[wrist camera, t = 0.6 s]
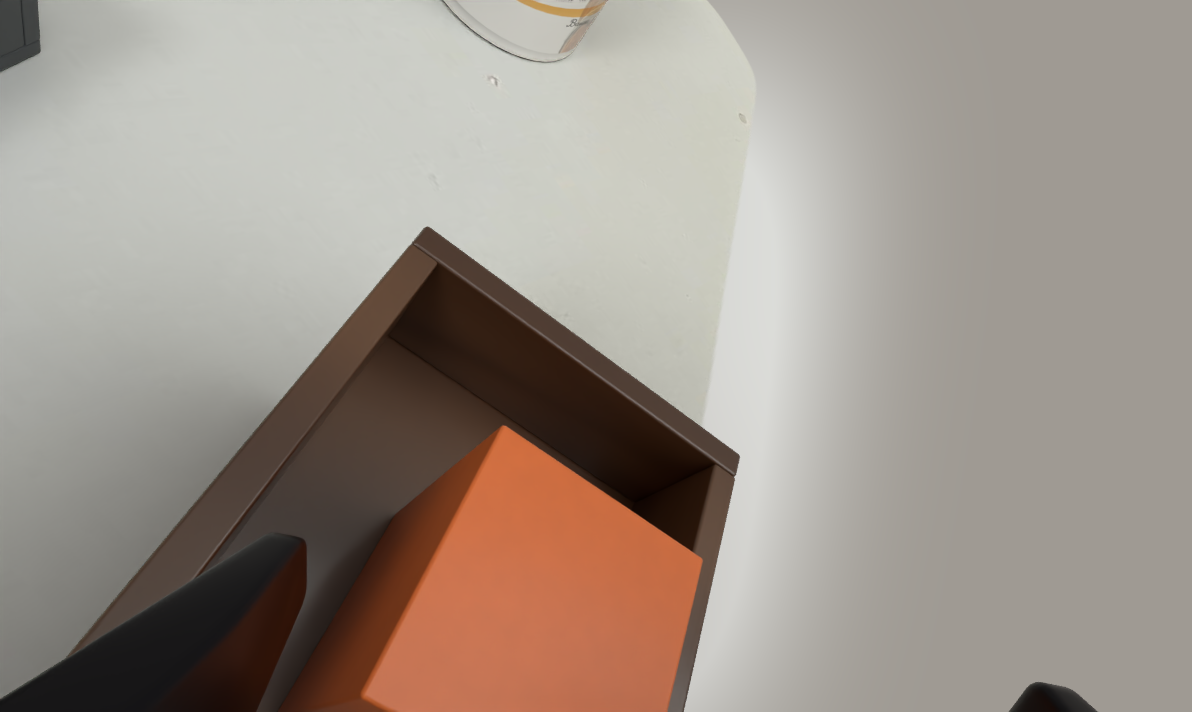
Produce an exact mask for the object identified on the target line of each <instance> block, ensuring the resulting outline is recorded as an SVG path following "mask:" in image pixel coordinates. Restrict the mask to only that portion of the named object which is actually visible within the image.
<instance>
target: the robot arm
mask: <svg viewBox="0 0 1192 712" xmlns="http://www.w3.org/2000/svg"><path fill="white" fill-rule="evenodd" d="M306 589H307V546H306V542H305V540H304V539H302V538H300V537H297V536H291V535H286V534H281V533H276V532H273V533H269V534H266V535H264V536H262V537H260V538H259V539H257V540H256V541H254V542H252V543H251V544H249V545H248V546H246V547H244V548H243V549H241V550H239V551H238V552H236V553H235V554H233V555H231V556H230V557H228V558H227V559H225V560H223V561H222V562H220V563H219V564H217V565H215V566H214V567H212V568H210V569H209V570H207V571H206V572H204V573H202V574H201V575H199V576H198V577H196V578H194V579H193V580H191V581H190V582H188V583H186V584H185V585H183V586H181V587H180V588H178V589H177V590H175V591H173V592H172V593H170V594H169V595H167V596H165V597H164V598H162V599H161V600H159V601H157V602H156V603H154V604H152V605H151V606H149V607H148V608H146V609H144V610H143V611H141V612H140V613H138V614H136V615H135V616H133V617H132V618H130V619H128V620H127V621H125V622H123V623H122V624H120V625H119V626H117V627H115V628H114V629H112V630H111V631H109V632H107V633H106V634H104V635H103V636H101V637H99V638H98V639H96V640H95V641H93V642H91V643H90V644H88V645H86V646H85V647H83V648H82V649H80V650H78V651H77V652H75V653H74V654H72V655H70V656H69V657H67V658H66V659H64V660H62V661H61V662H59V663H57V664H56V665H54V666H53V667H51V668H49V669H48V670H46V671H45V672H43V673H41V674H40V675H38V676H37V677H35V678H33V679H32V680H30V681H28V682H27V683H25V684H24V685H22V686H20V687H19V688H17V689H16V690H14V691H12V692H11V693H9V694H8V695H6V696H4V697H3V698H1V699H0V712H257V709H258V707H259V705H260V702H261V700H262V698H263V695H264V693H265V691H266V689H267V686H268V684H269V682H270V679H271V677H272V675H273V672H274V670H275V668H276V665H277V663H278V661H279V658H280V656H281V654H282V652H283V649H284V647H285V645H286V642H287V640H288V638H289V635H290V633H291V631H292V628H293V626H294V624H295V621H296V619H297V617H298V615H299V612H300V610H301V607H302V605H303V602H304V599H305V595H306ZM1009 712H1097V711H1096V710H1095V709H1094V708H1093V707H1092V706H1091V705H1089V704H1088V703H1087V702H1086V701H1085V700H1084V699H1083V698H1082V697H1080V696H1079V695H1078V694H1077V693H1076V692H1074V691H1073V690H1071V689H1069V688H1066V687H1062V686H1057V685H1052V684H1047V683H1042V682H1035V683H1033V684H1031V685H1029V686H1028V687H1027V688H1026V690H1025V691H1024V692H1023V694H1022V695H1021V696H1020V698H1019V699H1018V701H1017V702H1016V703H1015V704H1014V706H1013V707H1012V708H1011V710H1010V711H1009Z"/></svg>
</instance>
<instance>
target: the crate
mask: <svg viewBox="0 0 1192 712" xmlns="http://www.w3.org/2000/svg"><path fill="white" fill-rule="evenodd" d="M502 425H504V426H507V427H508V428H510V429H511V430H513V431H514V432H516V433H517V434H519V435H520V436H522V437H523V438H524V439H526V440H527V441H529V442H530V443H532V444H533V445H535V446H536V447H538V448H539V449H541V450H542V451H544V452H545V453H547V454H548V455H550V456H551V457H553V458H554V459H556V460H557V461H559V462H560V463H562V464H563V465H564V466H566V467H567V468H569V469H570V470H572V471H573V472H575V473H576V474H578V475H579V476H581V477H582V478H584V479H585V480H587V481H588V482H590V483H591V484H593V485H594V486H596V487H597V488H599V489H600V490H602V491H603V492H605V493H606V494H607V495H609V496H610V497H612V498H613V499H615V500H616V501H618V502H619V503H621V504H622V505H624V506H625V507H627V508H628V509H630V510H631V511H633V512H634V513H636V514H637V515H639V516H640V517H642V518H643V519H645V520H646V521H647V522H649V523H650V524H652V525H653V526H655V527H656V528H658V529H659V530H661V531H662V532H664V533H665V534H667V535H668V536H670V537H671V538H673V539H674V540H676V541H677V542H679V543H680V544H682V545H683V546H685V547H686V548H687V549H689V550H690V551H692V552H693V553H695V554H696V555H698V556H699V557H701V558H702V559H703V563H702V567H701V571H700V575H699V579H698V584H697V588H696V592H695V596H694V601H693V605H692V609H691V613H690V618H689V622H688V626H687V630H686V635H685V639H684V643H683V647H682V652H681V656H680V660H679V664H678V669H677V673H676V677H675V681H674V685H673V690H672V694H671V698H670V702H669V707H668V711H667V712H684V707H685V702H686V699H687V694H688V690H689V685H690V681H691V676H692V671H693V667H694V662H695V658H696V653H697V649H698V644H699V640H700V634H701V631H702V626H703V622H704V617H705V613H706V608H707V604H708V599H709V594H710V590H711V585H712V581H713V576H714V572H715V567H716V563H717V558H718V553H719V549H720V545H721V540H722V536H723V531H724V527H725V522H726V518H727V513H728V508H729V503H730V499H731V495H732V490H733V486H734V481H735V478H734V476H735V475H736V472H737V468H738V463H739V458H740V456H739V454H737V453H736V452H735V451H733V450H732V449H731V448H729V447H728V446H726V445H725V444H724V443H722V442H721V441H720V440H718V439H717V438H716V437H714V436H713V435H712V434H710V433H709V432H707V431H706V430H705V429H703V428H702V427H701V426H699V425H698V424H697V423H695V422H694V421H693V420H691V419H690V418H688V417H687V416H686V415H684V414H683V413H682V412H680V411H679V410H678V409H676V408H675V407H674V406H672V405H671V404H669V403H668V402H667V401H665V400H664V399H663V398H661V397H660V396H659V395H657V394H656V393H654V392H653V391H652V390H650V389H649V388H648V387H646V386H645V385H644V384H642V383H641V382H639V381H638V380H637V379H635V378H634V377H633V376H631V375H630V374H629V373H627V372H626V371H625V370H623V369H622V368H620V367H619V366H618V365H616V364H615V363H614V362H612V361H611V360H610V359H608V358H607V357H605V356H604V355H603V354H601V353H600V352H599V351H597V350H596V349H595V348H593V347H592V346H591V345H589V344H588V343H586V342H585V341H584V340H582V339H581V338H580V337H578V336H577V335H576V334H574V333H573V332H571V331H570V330H569V329H567V328H566V327H565V326H563V325H562V324H561V323H559V322H558V321H556V320H555V319H554V318H552V317H551V316H550V315H548V314H547V313H546V312H544V311H543V310H542V309H540V308H539V307H537V306H536V305H535V304H533V303H532V302H531V301H529V300H528V299H527V298H525V297H524V296H522V295H521V294H520V293H518V292H517V291H516V290H514V289H513V288H512V287H510V286H509V285H508V284H506V283H505V282H503V281H502V280H501V279H499V278H498V277H497V276H495V275H494V274H493V273H491V272H490V271H488V270H487V269H486V268H484V267H483V266H482V265H480V264H479V263H478V262H476V261H475V260H474V259H472V258H471V257H469V256H468V255H467V254H465V253H464V252H463V251H461V250H460V249H459V248H457V247H456V246H454V245H453V244H452V243H450V242H449V241H448V240H446V239H445V238H444V237H442V236H441V235H439V234H438V233H437V232H435V231H434V230H433V229H431V228H430V227H425V228H424V229H423V230H422V231H421V232H420V234H419V235H418V236H417V237H416V238H415V240H414V241H413V242H412V244H411V245H410V246H409V247H408V248H407V249H406V250H405V251H404V253H403V254H402V255H401V256H400V257H399V259H398V260H397V261H396V262H395V263H394V265H393V266H392V267H391V268H390V269H389V271H388V272H387V273H386V274H385V275H384V277H383V278H382V279H381V280H380V281H379V283H378V284H377V285H376V286H375V287H374V289H373V290H372V291H371V292H370V293H369V295H368V296H367V297H366V298H365V299H364V301H363V302H362V303H361V304H360V305H359V307H358V308H357V309H356V310H355V311H354V313H353V314H352V315H351V316H350V317H349V319H348V320H347V321H346V322H345V323H344V325H343V326H342V327H341V328H340V329H339V331H338V332H337V333H336V334H335V335H334V337H333V338H332V339H331V340H330V341H329V343H328V344H327V345H326V346H325V347H324V349H323V350H322V351H321V352H320V353H319V355H318V356H317V357H316V358H315V359H314V361H313V362H312V363H311V364H310V365H309V367H308V368H307V369H306V370H305V371H304V373H303V374H302V375H301V376H300V377H299V379H298V380H297V381H296V382H295V383H294V385H293V386H292V387H291V388H290V389H289V391H288V392H287V393H286V394H285V395H284V397H283V398H282V399H281V400H280V401H279V403H278V404H277V405H276V406H275V407H274V409H273V410H272V411H271V412H270V413H269V415H268V416H267V417H266V418H265V419H264V421H263V422H262V423H261V424H260V425H259V427H258V428H257V429H256V430H255V431H254V433H253V434H252V435H251V436H250V437H249V439H248V440H247V441H246V442H245V443H244V445H243V446H242V447H241V448H240V449H239V451H238V452H237V453H236V454H235V455H234V457H233V458H232V459H231V460H230V461H229V463H228V464H227V465H226V466H225V467H224V469H223V470H222V471H221V472H220V473H219V475H218V476H217V477H216V478H215V479H214V481H213V482H212V483H211V484H210V485H209V487H208V488H207V489H206V490H205V491H204V493H203V494H202V495H201V496H200V497H199V499H198V500H197V501H196V502H195V503H194V505H193V506H192V507H191V508H190V509H189V511H188V512H187V513H186V514H185V515H184V517H183V518H182V519H181V520H180V521H179V523H178V524H177V525H176V526H175V527H174V529H173V530H172V531H171V532H170V533H169V535H168V536H167V537H166V538H165V539H164V541H163V542H162V543H161V544H160V545H159V547H158V548H157V549H156V550H155V551H154V553H153V554H152V555H151V556H150V557H149V559H148V560H147V561H146V562H145V563H144V565H143V566H142V567H141V568H140V569H139V571H138V572H137V573H136V574H135V575H134V577H133V578H132V579H131V580H130V581H129V583H128V584H127V585H126V586H125V587H124V589H123V590H122V591H121V592H120V593H119V595H118V596H117V597H116V598H115V599H114V601H113V602H112V603H111V604H110V605H109V607H108V608H107V609H106V610H105V611H104V613H103V614H102V615H101V616H100V617H99V619H98V620H97V621H96V622H95V623H94V625H93V626H92V627H91V628H90V629H89V631H88V632H87V633H86V634H85V635H84V637H83V638H82V639H81V640H80V641H79V643H78V644H77V645H76V646H75V647H74V649H73V650H72V651H71V652H70V653H69V655H68V656H67V657H69V656H70V655H72V654H74V653H75V652H77V651H78V650H80V649H82V648H83V647H85V646H86V645H88V644H90V643H91V642H93V641H95V640H96V639H98V638H99V637H101V636H103V635H104V634H106V633H107V632H109V631H111V630H112V629H114V628H115V627H117V626H119V625H120V624H122V623H123V622H125V621H127V620H128V619H130V618H132V617H133V616H135V615H136V614H138V613H140V612H141V611H143V610H144V609H146V608H148V607H149V606H151V605H152V604H154V603H156V602H157V601H159V600H161V599H162V598H164V597H165V596H167V595H169V594H170V593H172V592H173V591H175V590H177V589H178V588H180V587H181V586H183V585H185V584H186V583H188V582H190V581H191V580H193V579H194V578H196V577H198V576H199V575H201V574H202V573H204V572H206V571H207V570H209V569H210V568H212V567H214V566H215V565H217V564H219V563H220V562H222V561H223V560H225V559H227V558H228V557H230V556H231V555H233V554H235V553H236V552H238V551H239V550H241V549H243V548H244V547H246V546H248V545H249V544H251V543H252V542H254V541H256V540H257V539H259V538H260V537H262V536H264V535H266V534H269V533H273V532H276V533H281V534H286V535H291V536H297V537H300V538H302V539H304V540H305V542H306V546H307V589H306V595H305V599H304V602H303V605H302V607H301V610H300V612H299V615H298V617H297V619H296V621H295V624H294V626H293V628H292V631H291V633H290V635H289V638H288V640H287V642H286V645H285V647H284V649H283V652H282V654H281V656H280V658H279V661H278V663H277V665H276V668H275V670H274V672H273V675H272V677H271V679H270V682H269V684H268V686H267V689H266V691H265V693H264V695H263V698H262V700H261V702H260V705H259V707H258V709H257V712H278V710H279V709H280V707H281V705H282V704H283V702H284V700H285V699H286V697H287V695H288V694H289V692H290V690H291V689H292V687H293V685H294V684H295V682H296V680H297V679H298V677H299V675H300V674H301V672H302V670H303V669H304V667H305V665H306V663H307V662H308V660H309V658H310V657H311V655H312V653H313V652H314V650H315V648H316V647H317V645H318V643H319V642H320V640H321V638H322V637H323V635H324V633H325V632H326V630H327V628H328V627H329V625H330V623H331V622H332V620H333V618H334V616H335V615H336V613H337V611H338V610H339V608H340V606H341V605H342V603H343V601H344V600H345V598H346V596H347V595H348V593H349V591H350V590H351V588H352V586H353V585H354V583H355V581H356V580H357V578H358V576H359V575H360V573H361V571H362V570H363V568H364V566H365V564H366V563H367V561H368V559H369V558H370V556H371V554H372V553H373V551H374V549H375V548H376V546H377V544H378V543H379V541H380V539H381V538H382V536H383V534H384V533H385V531H386V529H387V528H388V526H389V524H390V523H391V521H392V519H393V518H394V516H395V514H396V513H397V512H399V511H400V510H401V509H402V508H403V507H405V506H406V505H407V504H408V503H409V502H411V501H412V500H413V499H414V498H415V497H417V496H418V495H419V494H420V493H421V492H423V491H424V490H425V489H426V488H427V487H429V486H430V485H431V484H432V483H433V482H435V481H436V480H437V479H438V478H439V477H441V476H442V475H443V474H444V473H445V472H447V471H448V470H449V469H450V468H451V467H453V466H454V465H455V464H456V463H457V462H459V461H460V460H461V459H462V458H464V457H465V456H466V455H467V454H468V453H470V452H471V451H472V450H473V449H474V448H476V447H477V446H478V445H479V444H480V443H482V442H483V441H484V440H485V439H486V438H488V437H489V436H490V435H491V434H492V433H494V432H495V431H496V430H497V429H498V428H500V427H501V426H502ZM67 657H66V658H67ZM66 658H65V659H66Z"/></svg>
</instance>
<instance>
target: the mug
mask: <svg viewBox="0 0 1192 712" xmlns="http://www.w3.org/2000/svg"><path fill="white" fill-rule="evenodd" d="M444 1H445V3H446V4H447V5H448V6H449V8H450V9H451V10H452V11H453V12H454V13H455V14H456V15H457V16H458V17H459V18H460V19H461V20H462V21H463V22H464V23H465V24H466V25H467V26H469V27H470V28H471V29H472V30H473V31H475V32H476V33H477V34H479V35H480V36H482V37H483V38H484V39H486V40H487V41H489V42H491V43H492V44H494V45H496V46H497V47H499V48H501V49H503V50H505V51H507V52H509V53H512V54H514V55H517V56H520V57H522V58H526V59H530V60H534V61H542V62H550V61H557V60H561V59H563V58H565V57H567V56H568V55H570V54H571V53H572V52H573V51H574V50H575V48H576V47H577V45H578V44H579V42H580V41H581V39H582V38H583V37H584V35H585V34H586V32H587V31H588V29H589V28H590V26H591V25H592V23H593V22H594V20H595V19H596V17H597V16H598V14H599V13H600V11H601V10H602V8H603V7H604V5H605V4H606V2H607V1H608V0H444Z"/></svg>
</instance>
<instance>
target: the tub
mask: <svg viewBox="0 0 1192 712" xmlns="http://www.w3.org/2000/svg"><path fill="white" fill-rule="evenodd" d="M39 39H40V31H39V15H38V0H0V71H2V70H4V69H6V68H8V67H10V66H13V65H15V64H17V63H19V62H21V61H23V60H25V59H27V58H29V57H31V56H33V55H36V54H38V53H39V52H40V40H39Z"/></svg>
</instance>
